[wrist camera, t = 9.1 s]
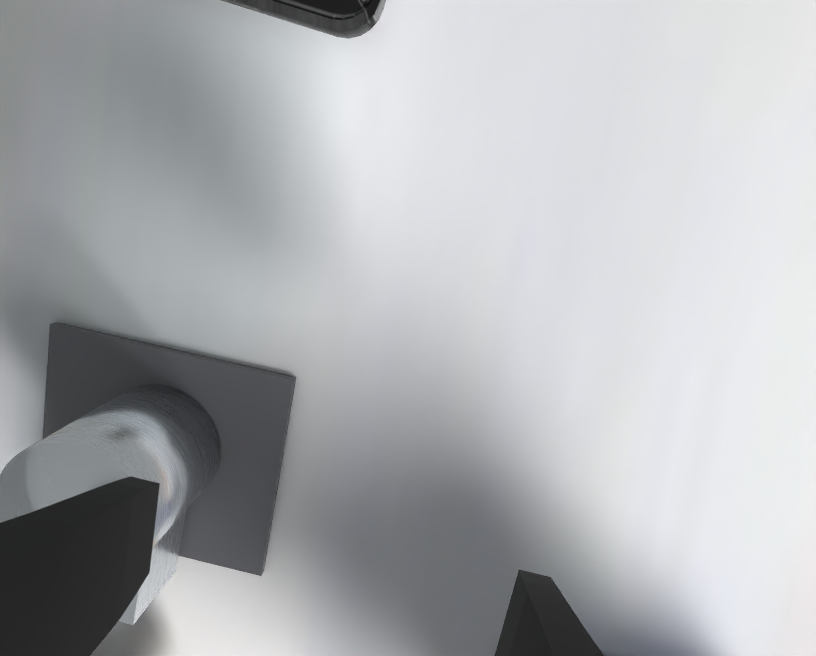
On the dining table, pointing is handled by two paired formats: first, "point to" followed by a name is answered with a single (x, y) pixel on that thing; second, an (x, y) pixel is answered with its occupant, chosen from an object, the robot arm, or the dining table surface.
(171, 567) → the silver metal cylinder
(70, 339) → the mat
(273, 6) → the phone
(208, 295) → the dining table surface
